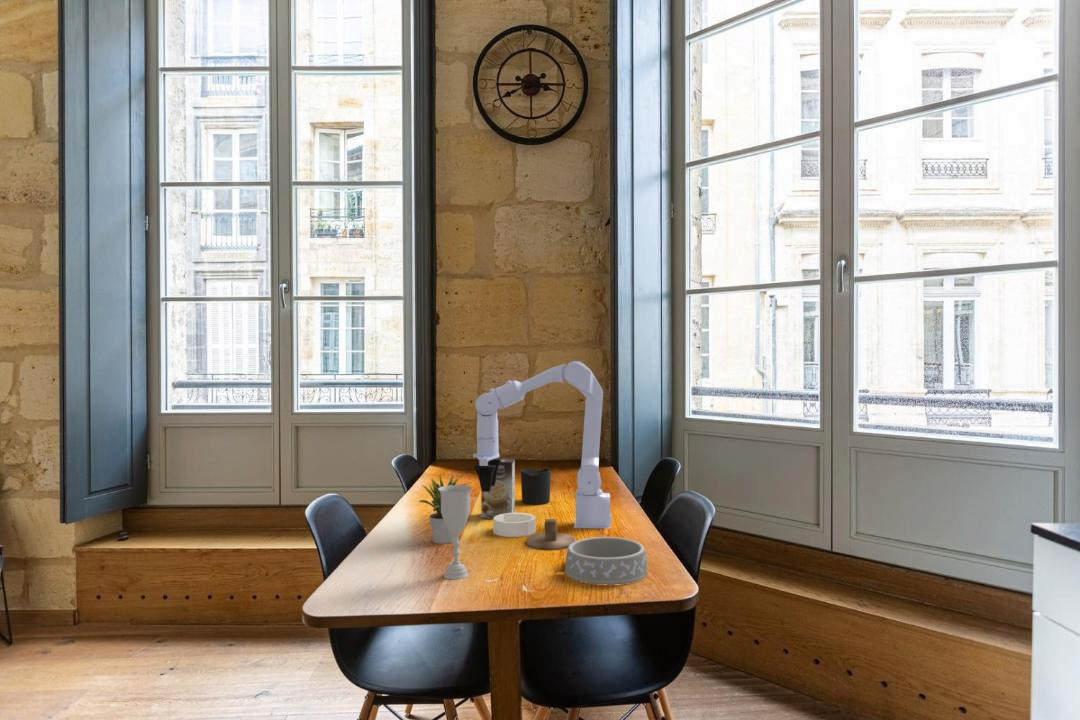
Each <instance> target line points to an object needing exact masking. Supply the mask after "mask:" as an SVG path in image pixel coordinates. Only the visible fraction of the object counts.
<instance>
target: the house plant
mask: <svg viewBox="0 0 1080 720" xmlns="http://www.w3.org/2000/svg"><path fill="white" fill-rule="evenodd" d="M438 478H439V483H437V482H436V480H434V479H433V478H431V485H432V486H431V485H429V488H430V489H429V488H428V487H427V486H425V485H423V484H421V486H422V487H424V489H425V490H426V492H427V493H428V494H430V495H429V496H431V498H432V500H431V502H430V501H429V500H425V499H420V500H419V501H418V502H417V503H424V504H426V505H430V506H431V507H432V509H433V512H434V513H431V514H430V515H428V516H429V517H428V519H429V523H430V528H431V535H432V539H433V542H434V543H435V544H439V545H440V544H441V545H444V544H450V542H451V543H452V542H453V539H454V536H453V533H451V532H449V530H448V528H447V526H446V524H445V522H444V520H443V517H442V514H441V493H440V491H439V488H440V487H443V486H445V485H444V482H443V479H442V476H441V475H440V474H439V477H438ZM458 481H459V478H456V479H455V480H454V475H452V476H451V478H450V479H449V482H448V483H447V485H446V486H449V485H457V484H456V483H457V482H458ZM470 483H472V481H469V482H465V483H463V484H462V485H465V486H467V484H470ZM435 512H436V513H435Z"/></svg>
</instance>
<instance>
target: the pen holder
mask: <svg viewBox="0 0 1080 720" xmlns="http://www.w3.org/2000/svg"><path fill="white" fill-rule="evenodd" d="M551 476H552V475H551V469H550V468H543V469H540V470H539V469H537V470H536V469H534V468H530V467H526V468H522V469H520V485H521V502H522V503H523V504H525V505H530V504H531V505H532V506H533V505H534V506H536V505H538V506H539V505H546V504H548V503H549V502H550V499H551V478H552V477H551ZM531 505H530V506H531Z"/></svg>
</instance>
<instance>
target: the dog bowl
mask: <svg viewBox="0 0 1080 720" xmlns="http://www.w3.org/2000/svg"><path fill="white" fill-rule="evenodd" d="M564 571H565V572H564V575H565V574H566V575H567V576H566V575H565V576H566V577H568V578H569V577H570V579H571V578H572V579H571V580H573V579H574V581H576V580H577V582H579V581H582V582H581V583H583V582H587V583H592V584H591V585H593V584H607V585H614V584H626V583H632V582H636V581H638V580H641V579H644V578H645V577H648V556H647V553H646V549H645V547H644V545H643V544H641V542H638V541H635V540H632V539H629V538H626V537H625V538H623V537H615V536H596V537H587V538H583V539H579V540H575V542H573V543H572V544H570V545H569V547H568V549H566V555H565V569H564ZM644 580H645V579H644ZM587 583H586V584H587ZM636 583H637V582H636ZM632 584H633V583H632ZM626 585H627V584H626Z"/></svg>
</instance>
